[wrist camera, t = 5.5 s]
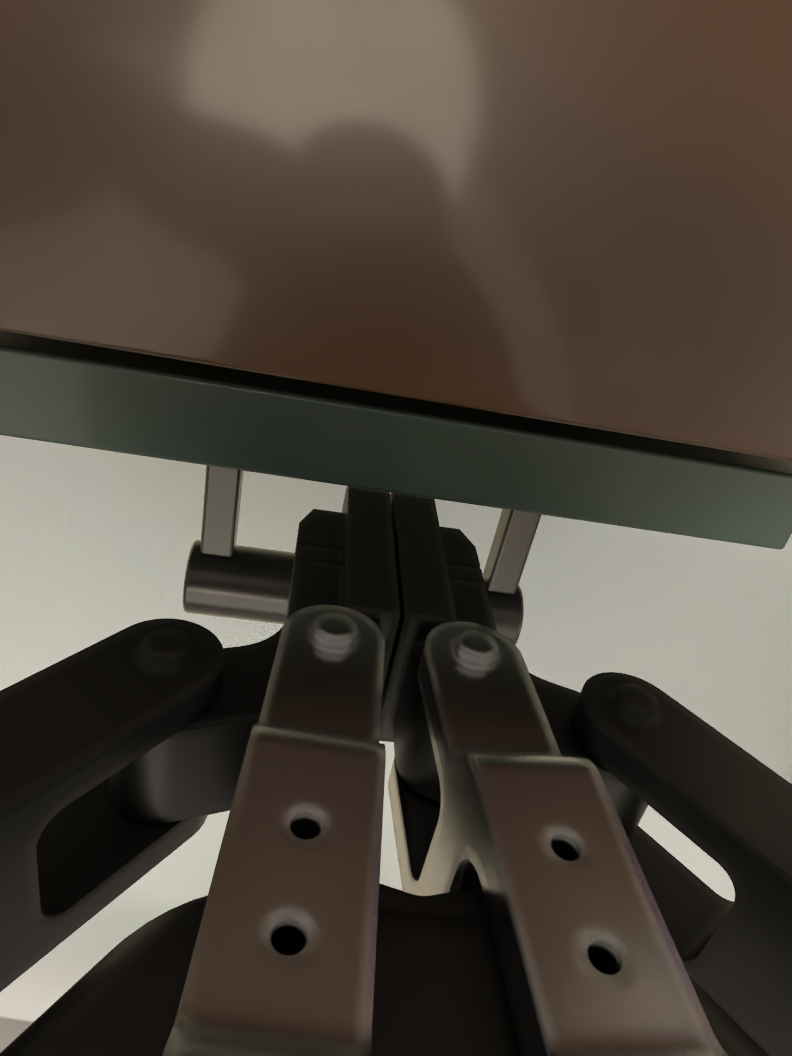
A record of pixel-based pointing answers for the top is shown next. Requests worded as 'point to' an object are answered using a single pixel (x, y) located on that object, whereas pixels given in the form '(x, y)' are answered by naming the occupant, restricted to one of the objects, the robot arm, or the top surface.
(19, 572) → the top surface
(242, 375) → the drawer
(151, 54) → the cabinet
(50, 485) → the top surface
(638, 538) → the top surface
